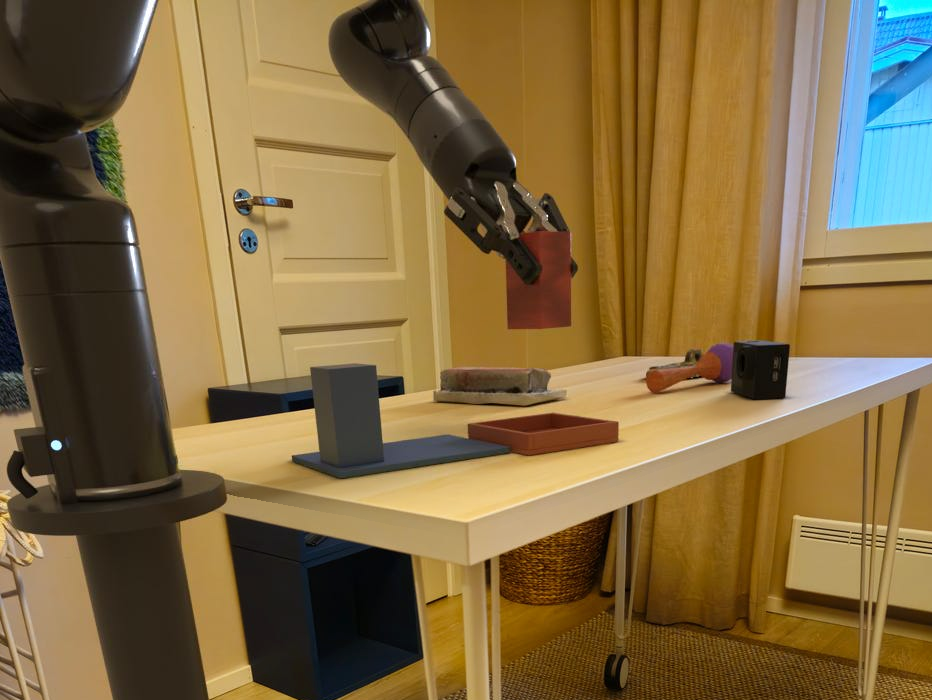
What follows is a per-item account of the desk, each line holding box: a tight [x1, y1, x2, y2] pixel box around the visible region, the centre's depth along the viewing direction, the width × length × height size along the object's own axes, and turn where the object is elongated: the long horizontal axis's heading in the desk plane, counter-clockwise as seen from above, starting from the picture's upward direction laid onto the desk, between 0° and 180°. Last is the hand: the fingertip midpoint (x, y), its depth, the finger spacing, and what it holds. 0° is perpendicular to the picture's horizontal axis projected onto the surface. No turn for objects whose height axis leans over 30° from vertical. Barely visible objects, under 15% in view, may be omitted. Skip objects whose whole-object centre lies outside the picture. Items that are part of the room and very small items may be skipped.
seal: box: [645, 348, 704, 379], centre depth 148 cm, size 9×5×15 cm
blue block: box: [309, 362, 384, 468], centre depth 78 cm, size 4×4×8 cm
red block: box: [505, 231, 572, 330], centre depth 83 cm, size 4×4×8 cm
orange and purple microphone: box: [645, 342, 734, 394], centre depth 132 cm, size 6×6×20 cm
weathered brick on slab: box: [432, 366, 567, 407], centre depth 125 cm, size 18×5×10 cm
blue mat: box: [291, 433, 511, 479], centre depth 84 cm, size 18×12×1 cm, turn 122°
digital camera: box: [730, 340, 791, 400], centre depth 117 cm, size 10×5×7 cm, turn 2°
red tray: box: [467, 412, 620, 456], centre depth 88 cm, size 11×11×2 cm
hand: (553, 276), depth 82 cm, fingers closed on red block, 4 cm apart
